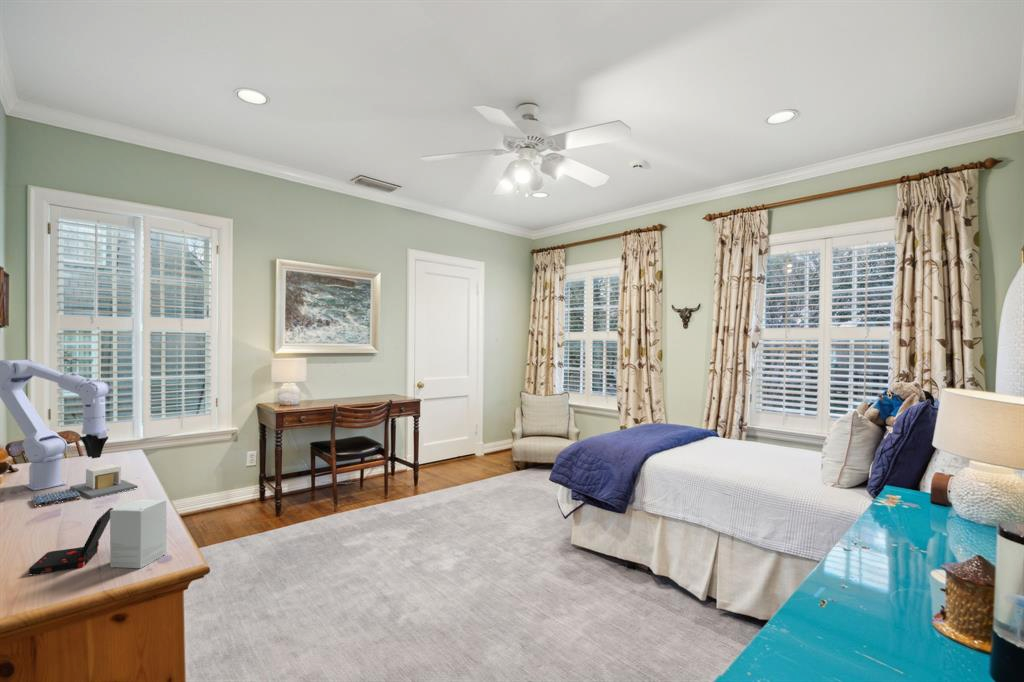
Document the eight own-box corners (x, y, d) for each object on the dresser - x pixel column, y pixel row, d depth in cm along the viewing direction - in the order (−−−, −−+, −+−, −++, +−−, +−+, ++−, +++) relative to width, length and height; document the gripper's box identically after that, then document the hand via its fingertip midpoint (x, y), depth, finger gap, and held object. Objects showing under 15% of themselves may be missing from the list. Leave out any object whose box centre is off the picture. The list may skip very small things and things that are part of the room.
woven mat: (75, 493, 153) (75, 487, 153) (82, 501, 146) (82, 494, 146) (30, 502, 145) (30, 495, 145) (34, 510, 138) (34, 503, 138)
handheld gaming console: (48, 557, 107) (48, 513, 107) (115, 548, 113) (115, 506, 113) (27, 576, 99) (27, 528, 99) (101, 565, 104) (101, 519, 104)
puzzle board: (70, 489, 156) (70, 486, 156) (115, 480, 166) (115, 477, 166) (91, 499, 146) (91, 495, 146) (137, 488, 157) (137, 485, 157)
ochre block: (93, 489, 156) (93, 474, 156) (108, 486, 159) (108, 471, 159) (98, 491, 154) (98, 476, 154) (113, 488, 157) (113, 473, 157)
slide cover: (85, 485, 155) (85, 468, 155) (113, 480, 161) (113, 463, 161) (93, 488, 152) (93, 471, 152) (120, 483, 158) (120, 466, 158)
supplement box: (168, 554, 109) (168, 499, 109) (139, 569, 102) (139, 511, 102) (138, 552, 110) (138, 498, 110) (108, 567, 103) (108, 509, 103)
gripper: (117, 417, 160) (117, 457, 160) (100, 413, 168) (100, 452, 168) (90, 420, 154) (90, 462, 154) (74, 416, 162) (74, 456, 162)
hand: (94, 457), depth 161 cm, fingers open, 3 cm apart
